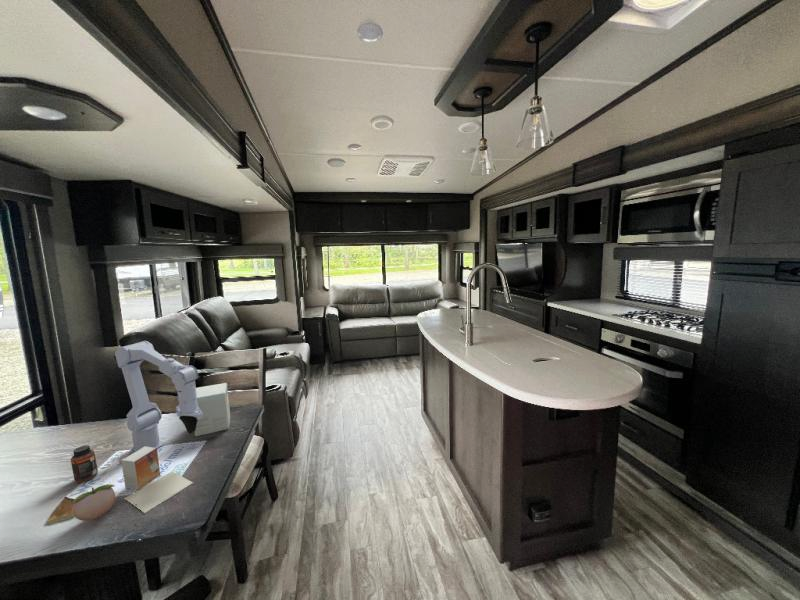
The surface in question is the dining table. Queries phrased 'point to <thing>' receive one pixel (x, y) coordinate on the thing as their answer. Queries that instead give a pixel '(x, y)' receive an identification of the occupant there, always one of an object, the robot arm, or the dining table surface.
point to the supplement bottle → (84, 464)
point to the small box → (140, 467)
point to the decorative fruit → (94, 503)
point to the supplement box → (213, 409)
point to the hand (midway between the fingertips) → (191, 432)
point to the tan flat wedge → (62, 511)
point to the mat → (158, 491)
